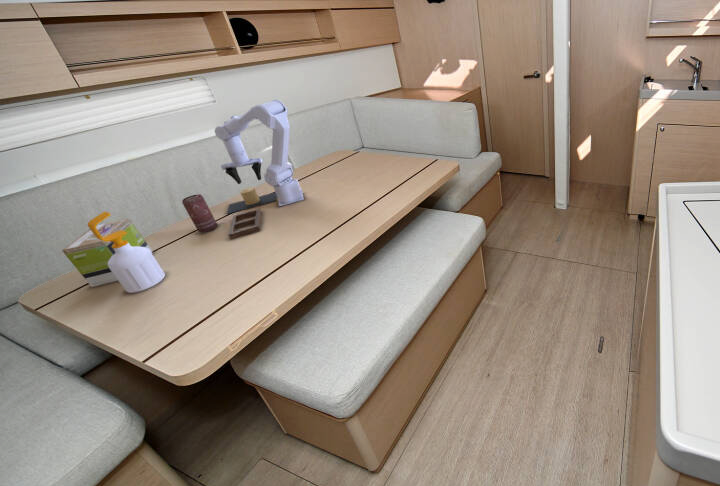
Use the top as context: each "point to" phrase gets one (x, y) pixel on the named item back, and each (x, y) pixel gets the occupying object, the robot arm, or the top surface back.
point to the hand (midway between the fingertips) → (250, 181)
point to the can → (199, 213)
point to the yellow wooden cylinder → (250, 196)
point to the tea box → (101, 251)
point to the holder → (245, 223)
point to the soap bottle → (129, 260)
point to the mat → (242, 205)
